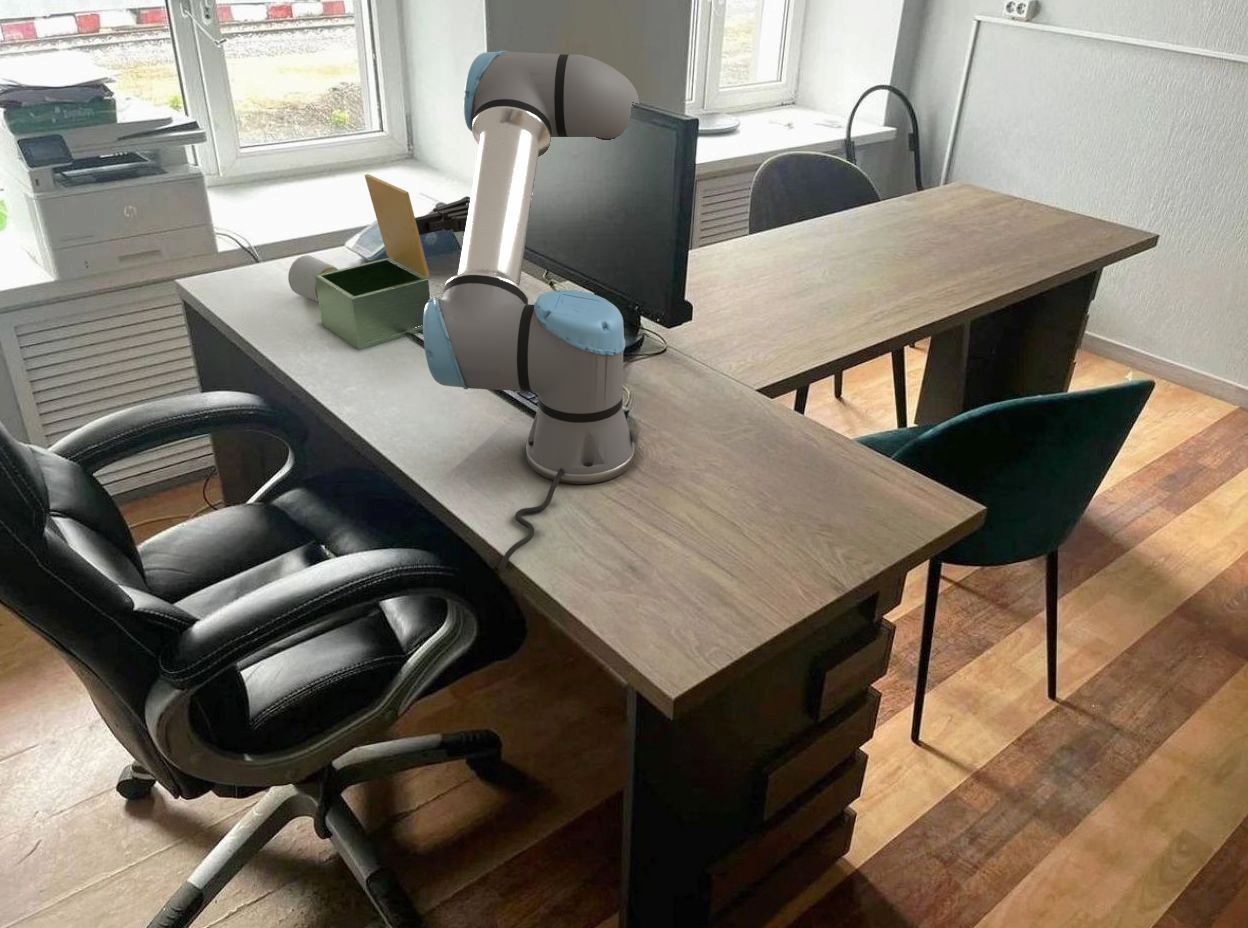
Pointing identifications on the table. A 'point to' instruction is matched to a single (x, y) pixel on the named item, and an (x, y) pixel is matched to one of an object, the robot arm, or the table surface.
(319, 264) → the ceramic mug
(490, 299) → the robot arm
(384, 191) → the lid
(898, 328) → the table surface
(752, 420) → the table surface
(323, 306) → the tea tin
